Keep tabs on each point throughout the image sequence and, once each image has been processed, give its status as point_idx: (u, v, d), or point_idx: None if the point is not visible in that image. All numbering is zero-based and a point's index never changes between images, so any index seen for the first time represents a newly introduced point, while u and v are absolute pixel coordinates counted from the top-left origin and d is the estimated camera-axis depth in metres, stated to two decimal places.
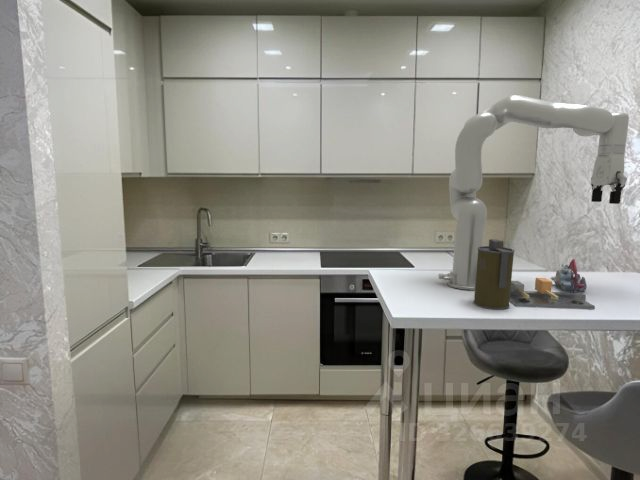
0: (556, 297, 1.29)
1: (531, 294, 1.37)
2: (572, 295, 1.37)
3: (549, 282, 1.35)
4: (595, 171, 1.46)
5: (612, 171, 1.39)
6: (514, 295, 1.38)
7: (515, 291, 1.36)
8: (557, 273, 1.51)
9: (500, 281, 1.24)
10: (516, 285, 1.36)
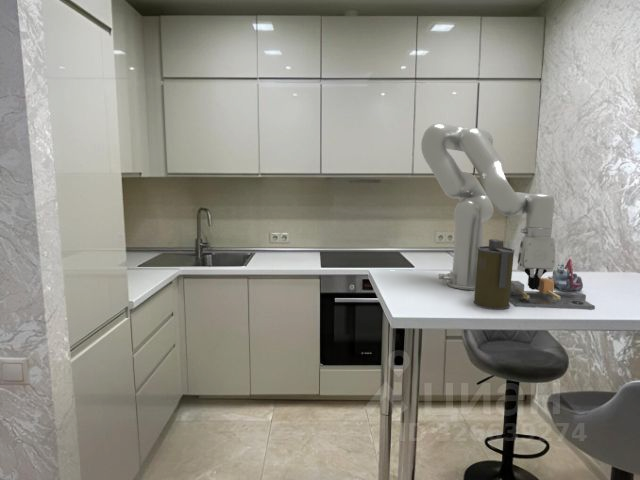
0: (558, 297, 1.29)
1: (531, 294, 1.37)
2: (572, 295, 1.37)
3: (551, 282, 1.35)
4: (530, 254, 1.34)
5: (554, 254, 1.34)
6: (514, 295, 1.38)
7: (515, 291, 1.36)
8: (553, 272, 1.52)
9: (500, 281, 1.24)
10: (516, 285, 1.36)
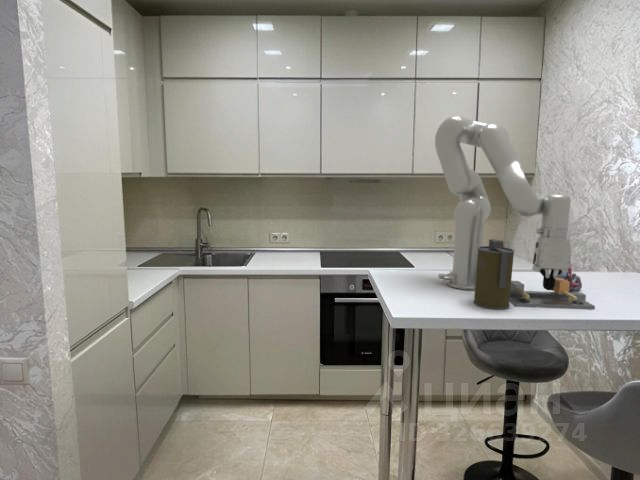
0: (574, 298, 1.28)
1: (531, 294, 1.37)
2: None
3: (567, 283, 1.35)
4: (546, 255, 1.34)
5: None
6: (514, 295, 1.38)
7: (515, 291, 1.36)
8: None
9: (500, 281, 1.24)
10: (516, 285, 1.36)
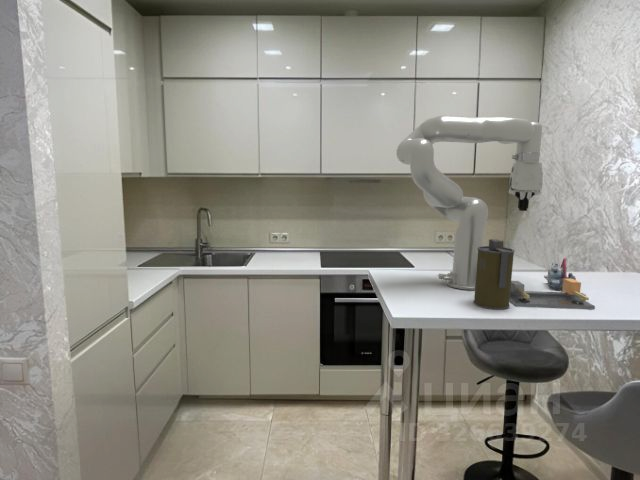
0: (586, 298, 1.28)
1: (531, 294, 1.37)
2: (572, 295, 1.37)
3: (578, 283, 1.35)
4: (520, 177, 1.49)
5: None
6: (514, 295, 1.38)
7: (515, 291, 1.36)
8: (548, 271, 1.53)
9: (500, 281, 1.24)
10: (516, 285, 1.36)
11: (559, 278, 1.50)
